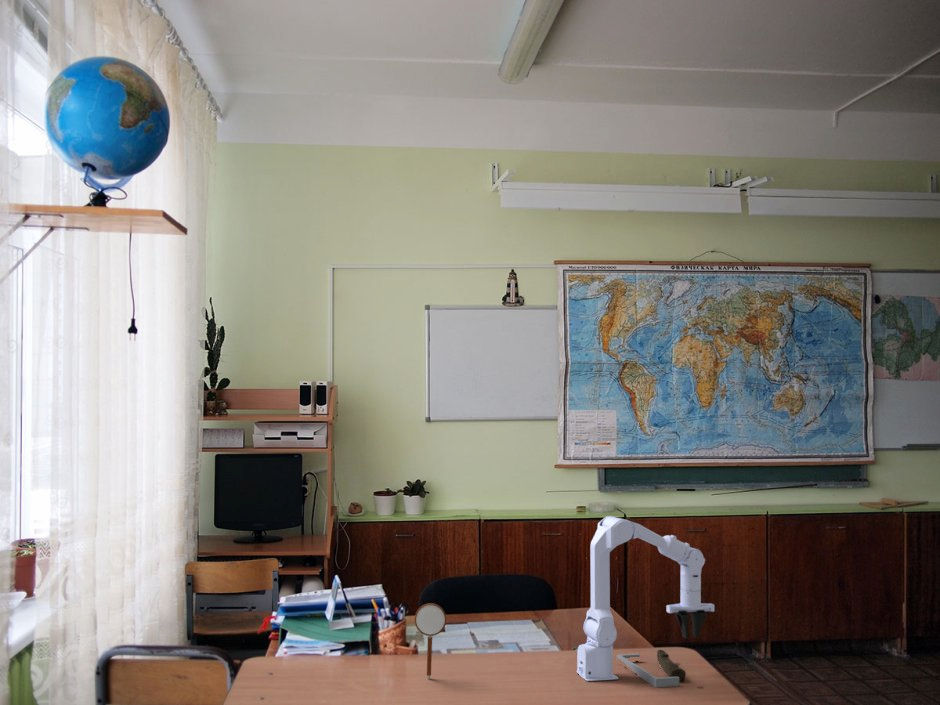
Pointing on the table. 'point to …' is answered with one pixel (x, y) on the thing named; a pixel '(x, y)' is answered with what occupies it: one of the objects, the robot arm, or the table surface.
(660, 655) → the brown rough log
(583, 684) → the table surface
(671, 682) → the box
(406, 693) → the table surface
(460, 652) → the table surface
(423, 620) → the magnifying glass
